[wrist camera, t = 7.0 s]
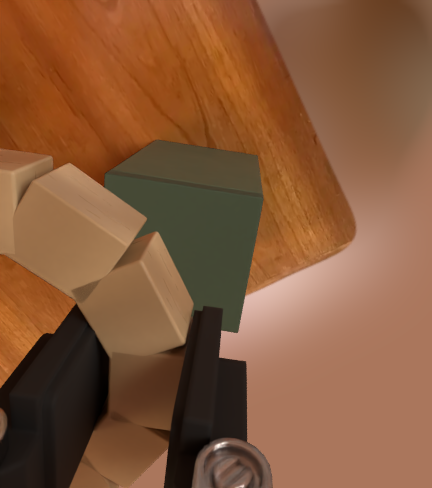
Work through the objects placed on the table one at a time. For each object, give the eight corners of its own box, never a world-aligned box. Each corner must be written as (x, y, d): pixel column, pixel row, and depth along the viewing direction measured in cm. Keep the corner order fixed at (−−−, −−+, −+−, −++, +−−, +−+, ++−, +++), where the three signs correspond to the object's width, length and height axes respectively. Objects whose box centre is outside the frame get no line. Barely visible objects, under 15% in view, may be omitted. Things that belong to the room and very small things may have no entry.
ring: (214, 177, 9) (208, 198, 8) (177, 475, 13) (167, 534, 11) (-200, 120, 10) (-294, 128, 8) (-123, 432, 13) (-176, 484, 11)
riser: (257, 155, 36) (263, 198, 23) (241, 249, 39) (237, 333, 26) (155, 139, 36) (104, 173, 23) (147, 234, 39) (98, 311, 27)
